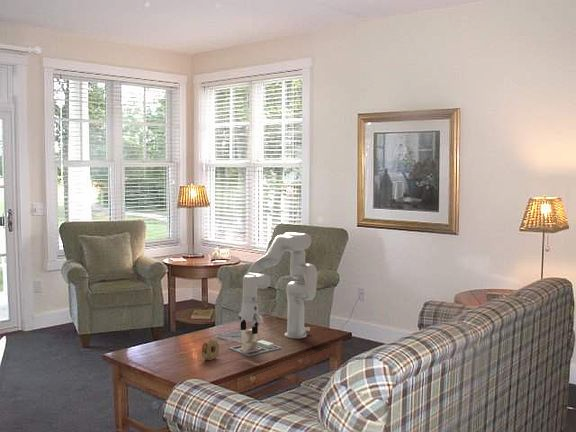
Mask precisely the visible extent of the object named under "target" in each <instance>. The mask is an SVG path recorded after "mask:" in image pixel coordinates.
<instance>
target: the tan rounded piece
mask: <svg viewBox="0 0 576 432" xmlns="http://www.w3.org/2000/svg"><path fill="white" fill-rule="evenodd" d="M219 345H220V344H219V343H218V341H217V340H216V339H213V338H210V339H206V340H205V341H204V342H203V343H202V346H201V356H202V358H203V359H204V360H205V361H211V360H214V359H216V358H217V357H218V355H219V352H220V346H219Z"/></svg>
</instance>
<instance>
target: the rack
mask: <svg viewBox="0 0 576 432" xmlns="http://www.w3.org/2000/svg"><path fill="white" fill-rule="evenodd" d="M261 340H262V339H261ZM261 340H259V341H261ZM241 346H242V344H238V345H233V346H230V347H228V349H229V350H231V351H233V352H235V353H238V354H241V355H242V356H246V357H248V358H249V357H253V356H257V355H261V354H262V355H263V354H265V353H271V352H273V351H279V350H283V347H282V346H279V345H277V344H274V347H275V348H272V349H266V348H263V347H260V346H258V345H257V349H254V350H249V351H245V352H243V351H241ZM258 351H259V352H258Z"/></svg>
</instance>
